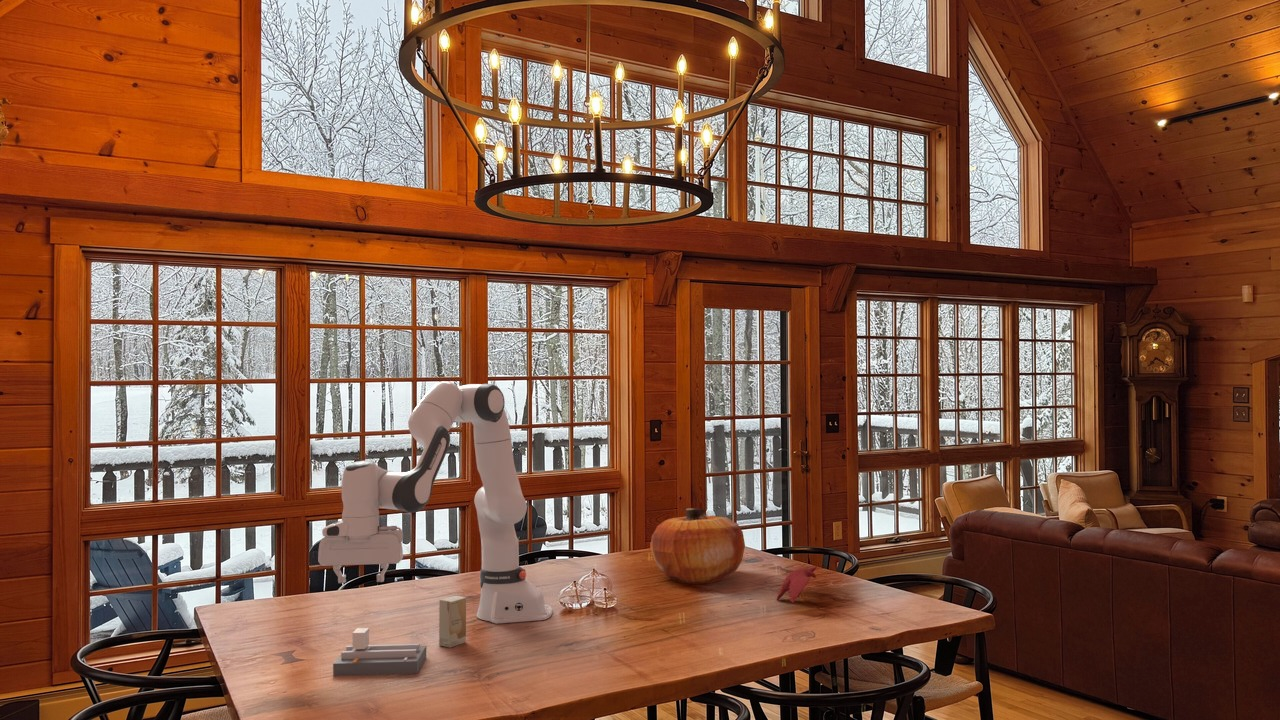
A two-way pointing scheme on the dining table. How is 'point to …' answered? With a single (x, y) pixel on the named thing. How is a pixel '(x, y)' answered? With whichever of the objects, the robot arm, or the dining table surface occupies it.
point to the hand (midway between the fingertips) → (361, 582)
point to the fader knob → (361, 639)
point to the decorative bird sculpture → (796, 583)
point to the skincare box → (452, 621)
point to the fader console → (380, 660)
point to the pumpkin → (698, 547)
